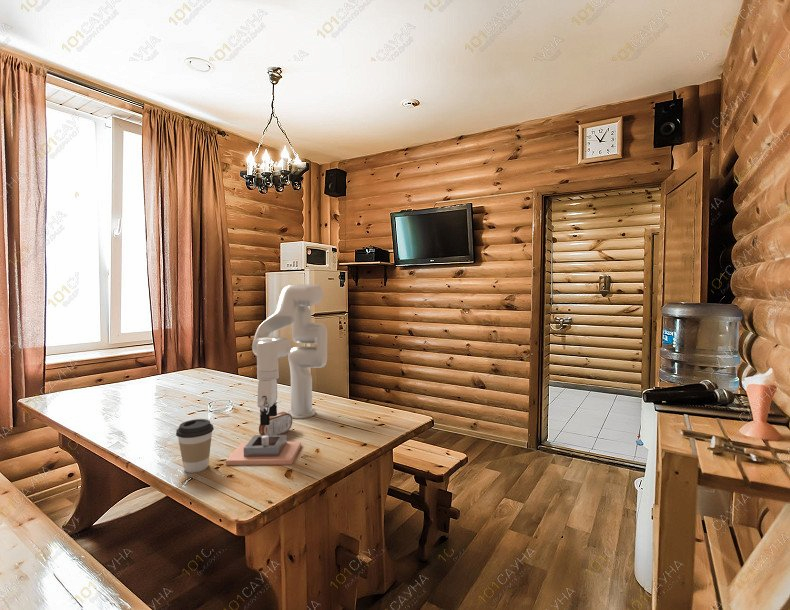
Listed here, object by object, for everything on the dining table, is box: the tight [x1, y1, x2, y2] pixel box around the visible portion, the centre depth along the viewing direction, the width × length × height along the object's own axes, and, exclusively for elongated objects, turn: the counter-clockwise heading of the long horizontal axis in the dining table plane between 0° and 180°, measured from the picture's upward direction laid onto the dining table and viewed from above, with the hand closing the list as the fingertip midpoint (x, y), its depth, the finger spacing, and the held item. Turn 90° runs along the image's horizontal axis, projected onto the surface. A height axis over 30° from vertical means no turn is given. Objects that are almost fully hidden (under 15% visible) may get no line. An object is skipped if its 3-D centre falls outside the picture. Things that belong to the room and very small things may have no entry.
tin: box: [258, 411, 293, 435], centre depth 168 cm, size 15×3×8 cm, turn 144°
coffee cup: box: [175, 418, 214, 473], centre depth 138 cm, size 11×11×15 cm
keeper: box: [225, 436, 302, 466], centre depth 149 cm, size 16×22×7 cm
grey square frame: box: [244, 434, 288, 457], centre depth 150 cm, size 12×12×3 cm
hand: (268, 420), depth 154 cm, fingers open, 9 cm apart
